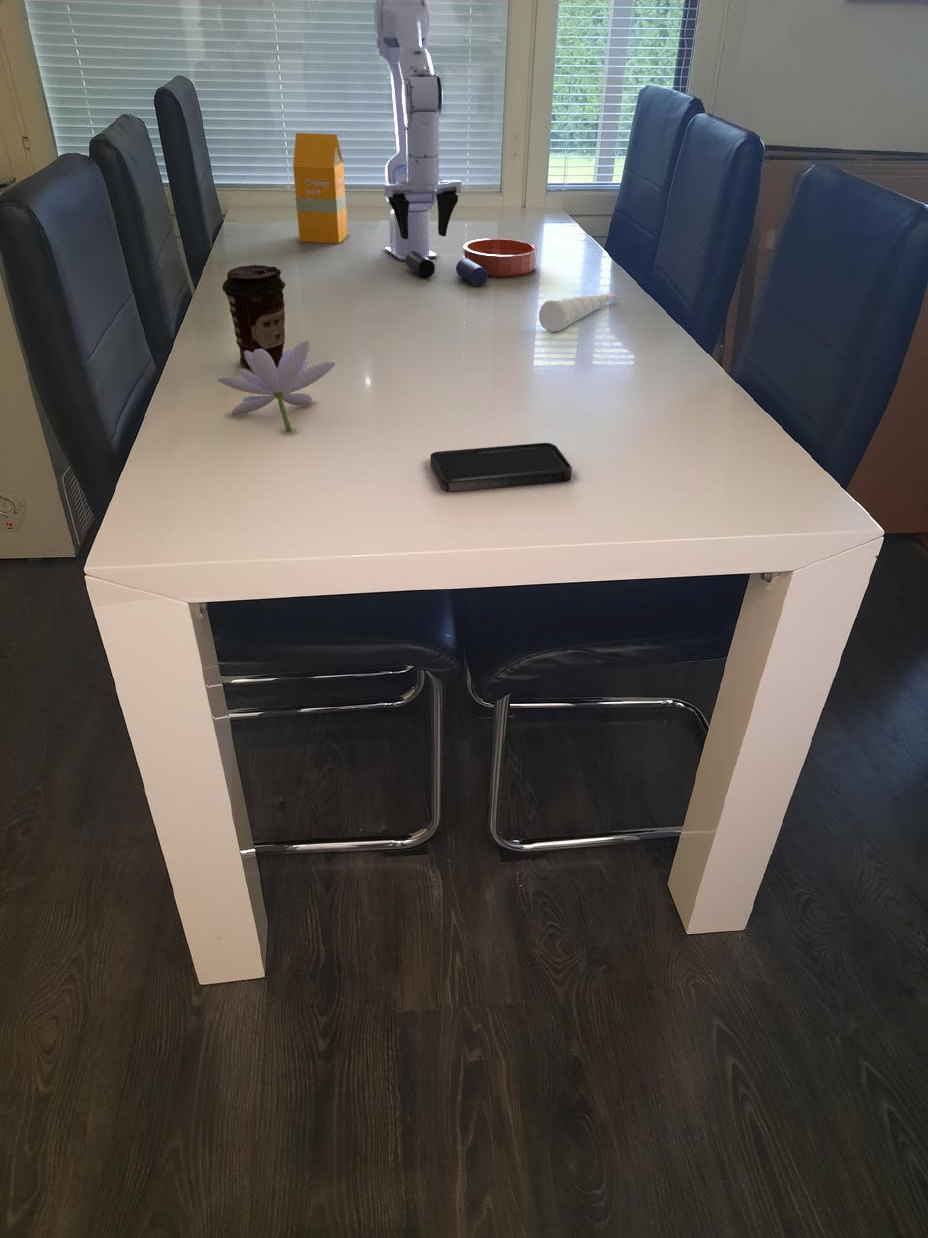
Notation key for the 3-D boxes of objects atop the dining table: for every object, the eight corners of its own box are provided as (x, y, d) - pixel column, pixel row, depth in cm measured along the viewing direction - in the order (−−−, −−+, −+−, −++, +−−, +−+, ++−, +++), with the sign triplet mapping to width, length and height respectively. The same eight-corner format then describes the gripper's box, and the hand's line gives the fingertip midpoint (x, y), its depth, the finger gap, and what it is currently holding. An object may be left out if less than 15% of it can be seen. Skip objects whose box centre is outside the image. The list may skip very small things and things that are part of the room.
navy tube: (452, 268, 162) (464, 254, 161) (464, 280, 164) (475, 266, 163) (467, 278, 157) (479, 263, 156) (479, 290, 159) (491, 275, 158)
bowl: (452, 262, 172) (452, 241, 170) (515, 256, 177) (516, 236, 174) (481, 280, 162) (482, 258, 159) (547, 274, 166) (549, 252, 164)
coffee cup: (305, 359, 125) (296, 266, 118) (277, 379, 119) (266, 281, 111) (252, 352, 127) (240, 260, 120) (222, 370, 121) (207, 274, 113)
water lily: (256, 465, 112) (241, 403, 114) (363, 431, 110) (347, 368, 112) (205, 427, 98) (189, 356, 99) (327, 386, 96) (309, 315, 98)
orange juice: (309, 233, 190) (301, 130, 178) (348, 235, 189) (342, 132, 178) (299, 241, 184) (289, 135, 172) (339, 243, 183) (332, 136, 171)
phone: (574, 471, 95) (442, 482, 92) (573, 480, 96) (442, 492, 93) (552, 441, 101) (428, 451, 98) (551, 450, 102) (428, 460, 99)
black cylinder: (409, 272, 168) (402, 256, 165) (424, 263, 168) (417, 247, 165) (422, 281, 162) (415, 265, 160) (437, 272, 163) (430, 255, 160)
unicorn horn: (632, 302, 152) (636, 274, 149) (560, 335, 137) (563, 305, 134) (609, 297, 154) (612, 269, 151) (536, 329, 139) (538, 299, 136)
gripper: (392, 160, 148) (394, 244, 156) (468, 156, 153) (467, 238, 161) (378, 154, 153) (381, 235, 161) (453, 151, 158) (452, 230, 166)
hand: (423, 236), depth 161 cm, fingers open, 7 cm apart
